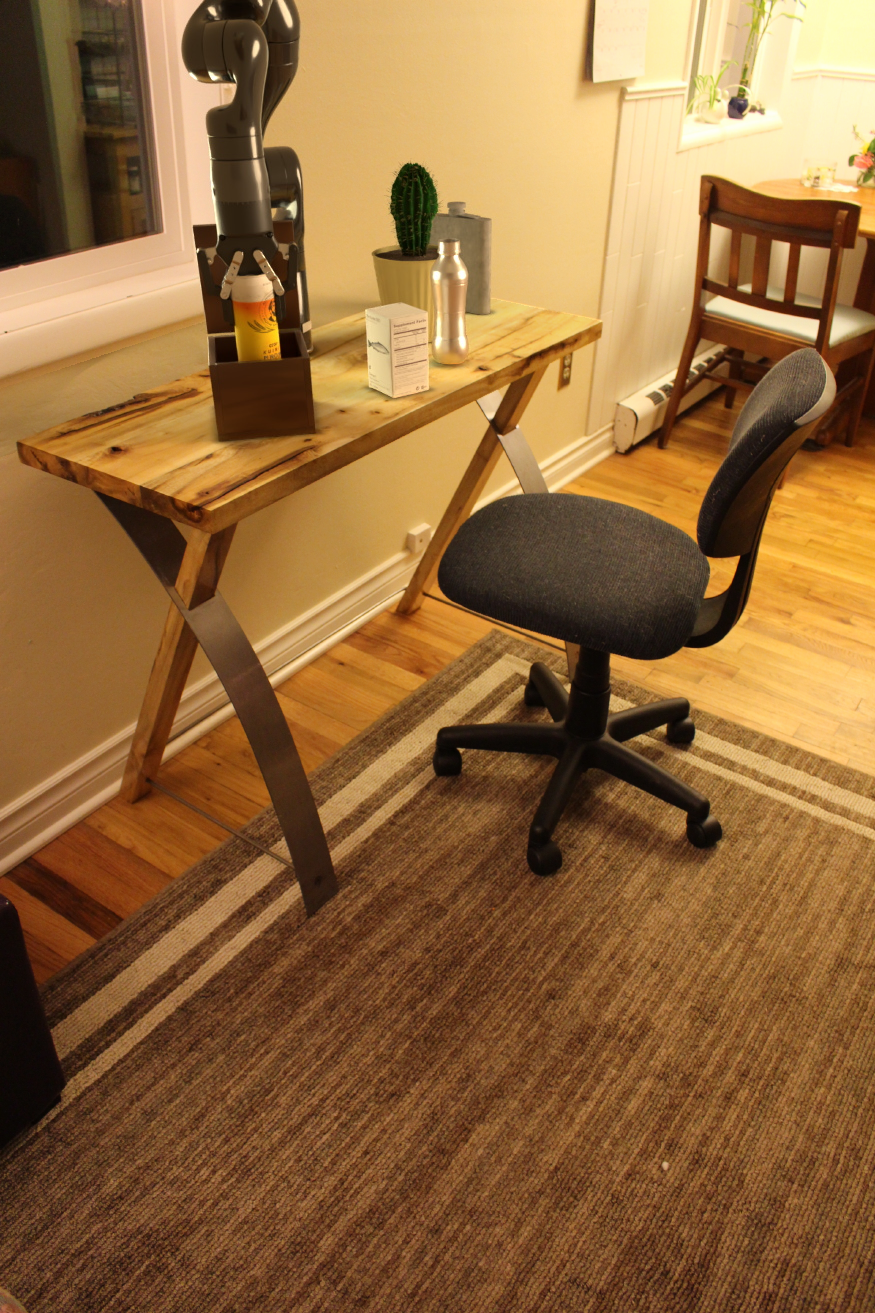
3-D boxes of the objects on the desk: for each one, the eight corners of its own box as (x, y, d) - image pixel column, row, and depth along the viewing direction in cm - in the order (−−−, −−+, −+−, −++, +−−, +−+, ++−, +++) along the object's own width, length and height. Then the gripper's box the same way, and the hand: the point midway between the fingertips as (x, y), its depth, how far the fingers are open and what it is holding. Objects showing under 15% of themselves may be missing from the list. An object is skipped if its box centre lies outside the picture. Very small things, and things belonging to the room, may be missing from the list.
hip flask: (418, 305, 211) (415, 200, 200) (428, 301, 214) (426, 197, 203) (485, 315, 204) (486, 206, 193) (495, 310, 207) (496, 203, 196)
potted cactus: (358, 334, 193) (348, 159, 177) (419, 319, 202) (415, 150, 185) (412, 351, 183) (407, 167, 167) (474, 334, 192) (474, 158, 176)
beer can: (275, 386, 146) (263, 277, 138) (234, 384, 148) (221, 276, 139) (288, 373, 151) (278, 267, 143) (249, 371, 152) (237, 266, 144)
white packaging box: (367, 387, 167) (363, 308, 160) (405, 378, 170) (402, 300, 163) (392, 399, 162) (388, 317, 155) (430, 390, 165) (429, 309, 158)
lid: (292, 221, 145) (289, 207, 149) (192, 226, 143) (191, 212, 147) (300, 327, 156) (297, 312, 160) (207, 334, 153) (206, 318, 157)
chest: (316, 432, 150) (309, 357, 144) (219, 441, 147) (208, 365, 142) (306, 400, 162) (300, 329, 156) (217, 407, 160) (207, 336, 154)
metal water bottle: (442, 370, 174) (441, 246, 163) (424, 360, 179) (422, 239, 168) (475, 364, 176) (476, 241, 165) (457, 355, 181) (456, 234, 170)
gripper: (293, 187, 140) (304, 313, 149) (186, 193, 138) (203, 319, 147) (297, 196, 134) (308, 326, 143) (186, 201, 132) (204, 333, 141)
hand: (255, 322), depth 145 cm, fingers closed on beer can, 6 cm apart
